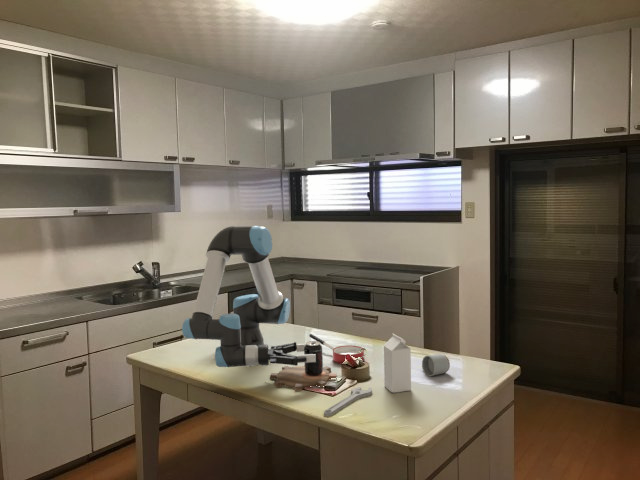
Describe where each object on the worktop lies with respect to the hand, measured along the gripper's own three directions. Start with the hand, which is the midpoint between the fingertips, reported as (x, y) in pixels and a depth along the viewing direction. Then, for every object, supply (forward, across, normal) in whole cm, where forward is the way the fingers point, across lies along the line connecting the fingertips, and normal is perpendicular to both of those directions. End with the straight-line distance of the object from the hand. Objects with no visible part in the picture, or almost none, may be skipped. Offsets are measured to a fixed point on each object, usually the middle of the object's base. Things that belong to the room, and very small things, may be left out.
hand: (314, 352), depth 197 cm
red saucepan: (+9, -28, -10) cm, 31 cm away
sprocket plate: (-4, -1, -10) cm, 11 cm away
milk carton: (+28, +14, -10) cm, 33 cm away
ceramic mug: (+45, 0, -10) cm, 46 cm away
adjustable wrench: (+9, +24, -11) cm, 28 cm away
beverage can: (0, 0, -9) cm, 9 cm away
